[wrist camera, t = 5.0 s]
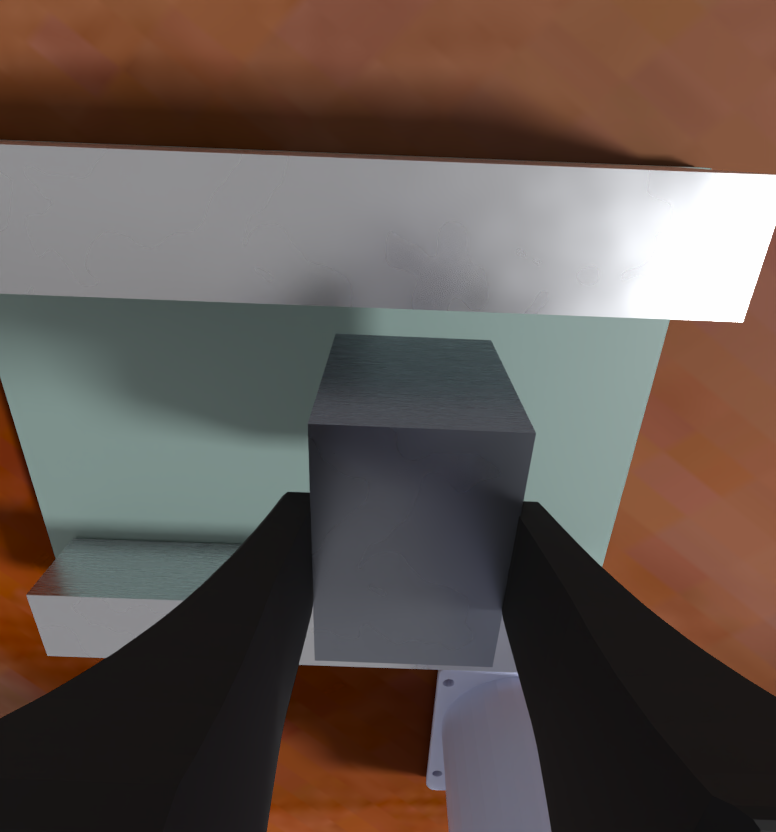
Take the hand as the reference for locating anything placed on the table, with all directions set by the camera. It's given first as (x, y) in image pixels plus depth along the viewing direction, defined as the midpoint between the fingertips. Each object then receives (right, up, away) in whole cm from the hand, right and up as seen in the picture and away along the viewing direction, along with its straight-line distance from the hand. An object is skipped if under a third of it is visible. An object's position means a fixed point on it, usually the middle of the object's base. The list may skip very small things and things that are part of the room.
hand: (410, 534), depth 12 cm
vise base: (-3, +2, +8) cm, 9 cm away
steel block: (0, +2, +4) cm, 4 cm away
